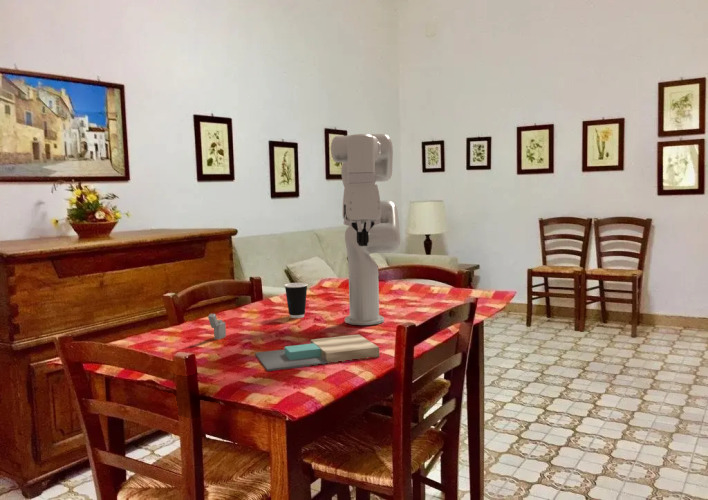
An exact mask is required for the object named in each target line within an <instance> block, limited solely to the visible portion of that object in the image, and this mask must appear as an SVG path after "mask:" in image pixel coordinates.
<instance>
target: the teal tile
mask: <svg viewBox="0 0 708 500" xmlns="http://www.w3.org/2000/svg"><path fill="white" fill-rule="evenodd" d="M284 349H285V355H286V356H287V357H288V358H289V359H290V360H295V359H304V358H312V357H320V356H321V349H320V348H319V347H318V346H317V345H316V344H314V343H312V344H311V343H305V344H298V345H297V344H296V345H287V346H284Z"/></svg>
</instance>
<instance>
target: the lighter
mask: <svg viewBox="0 0 708 500" xmlns="http://www.w3.org/2000/svg"><path fill="white" fill-rule="evenodd" d="M207 318H208V320H209V321H208V322H209V324H210V327H211V328H212V329H213V334H214V335H213V336H214V337H213V339H214V340H216V339H218V341H220V340H221V339H224V338H226V336H227V333H226V322H225V321H223V319H217V316H216V313H210V314H208V316H207Z"/></svg>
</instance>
